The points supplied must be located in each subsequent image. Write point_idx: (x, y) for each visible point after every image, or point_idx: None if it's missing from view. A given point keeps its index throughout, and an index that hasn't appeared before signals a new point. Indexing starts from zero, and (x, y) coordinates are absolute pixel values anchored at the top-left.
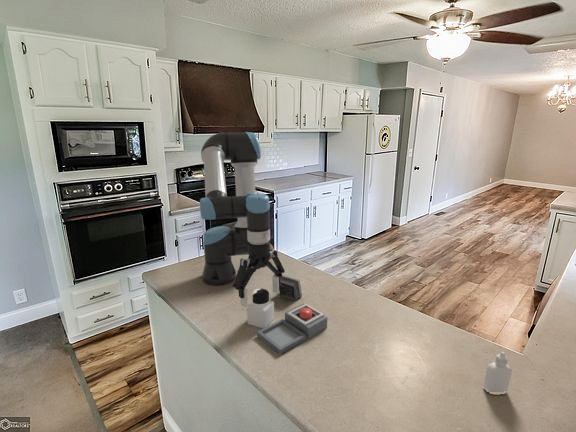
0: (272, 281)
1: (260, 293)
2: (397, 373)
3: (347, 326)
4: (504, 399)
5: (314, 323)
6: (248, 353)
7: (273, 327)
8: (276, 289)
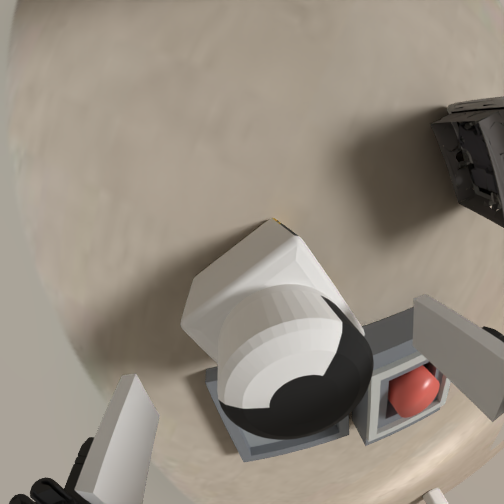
0: (469, 334)
1: (288, 425)
2: (391, 487)
3: (452, 391)
4: None
5: (394, 431)
6: None
7: None
8: (431, 355)
